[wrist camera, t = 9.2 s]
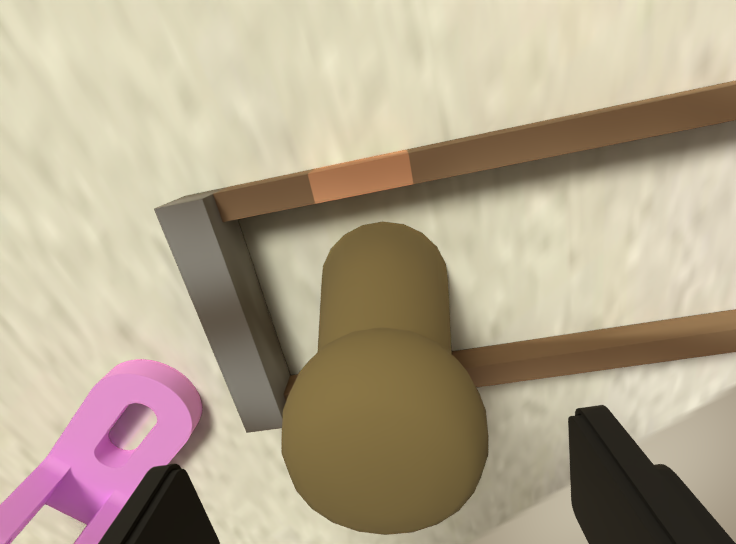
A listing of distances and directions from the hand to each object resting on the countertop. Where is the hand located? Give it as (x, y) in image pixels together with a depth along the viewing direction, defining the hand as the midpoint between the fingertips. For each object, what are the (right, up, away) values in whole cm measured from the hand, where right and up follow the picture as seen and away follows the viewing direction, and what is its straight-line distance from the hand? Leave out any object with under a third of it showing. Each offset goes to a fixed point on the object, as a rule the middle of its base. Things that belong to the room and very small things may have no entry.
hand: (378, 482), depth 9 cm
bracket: (-15, -5, +14) cm, 21 cm away
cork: (+1, +5, +9) cm, 10 cm away
